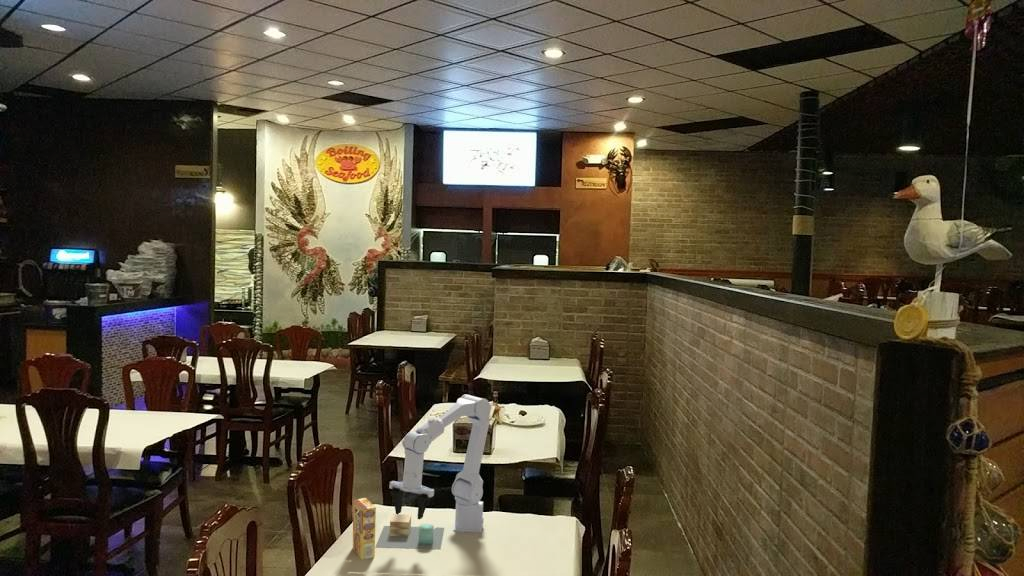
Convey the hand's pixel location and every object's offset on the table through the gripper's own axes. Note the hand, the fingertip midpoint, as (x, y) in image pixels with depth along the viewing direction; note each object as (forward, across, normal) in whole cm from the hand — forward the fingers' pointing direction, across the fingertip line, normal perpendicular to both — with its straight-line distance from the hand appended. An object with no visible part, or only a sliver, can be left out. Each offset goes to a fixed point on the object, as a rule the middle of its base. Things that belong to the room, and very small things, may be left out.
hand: (409, 515), depth 196 cm
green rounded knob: (+9, +4, +6) cm, 12 cm away
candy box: (+11, -10, -8) cm, 17 cm away
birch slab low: (+10, -7, +9) cm, 15 cm away
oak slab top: (+7, -7, +9) cm, 14 cm away
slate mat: (+10, -2, +7) cm, 12 cm away
